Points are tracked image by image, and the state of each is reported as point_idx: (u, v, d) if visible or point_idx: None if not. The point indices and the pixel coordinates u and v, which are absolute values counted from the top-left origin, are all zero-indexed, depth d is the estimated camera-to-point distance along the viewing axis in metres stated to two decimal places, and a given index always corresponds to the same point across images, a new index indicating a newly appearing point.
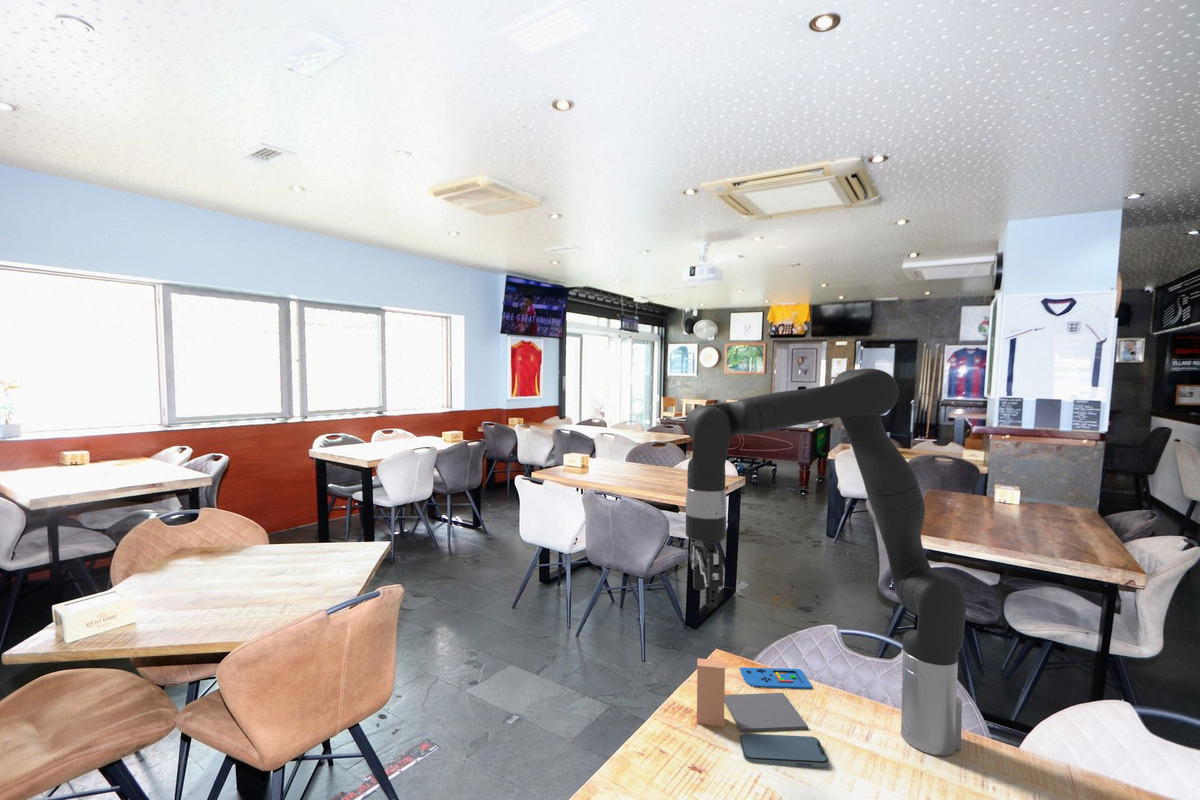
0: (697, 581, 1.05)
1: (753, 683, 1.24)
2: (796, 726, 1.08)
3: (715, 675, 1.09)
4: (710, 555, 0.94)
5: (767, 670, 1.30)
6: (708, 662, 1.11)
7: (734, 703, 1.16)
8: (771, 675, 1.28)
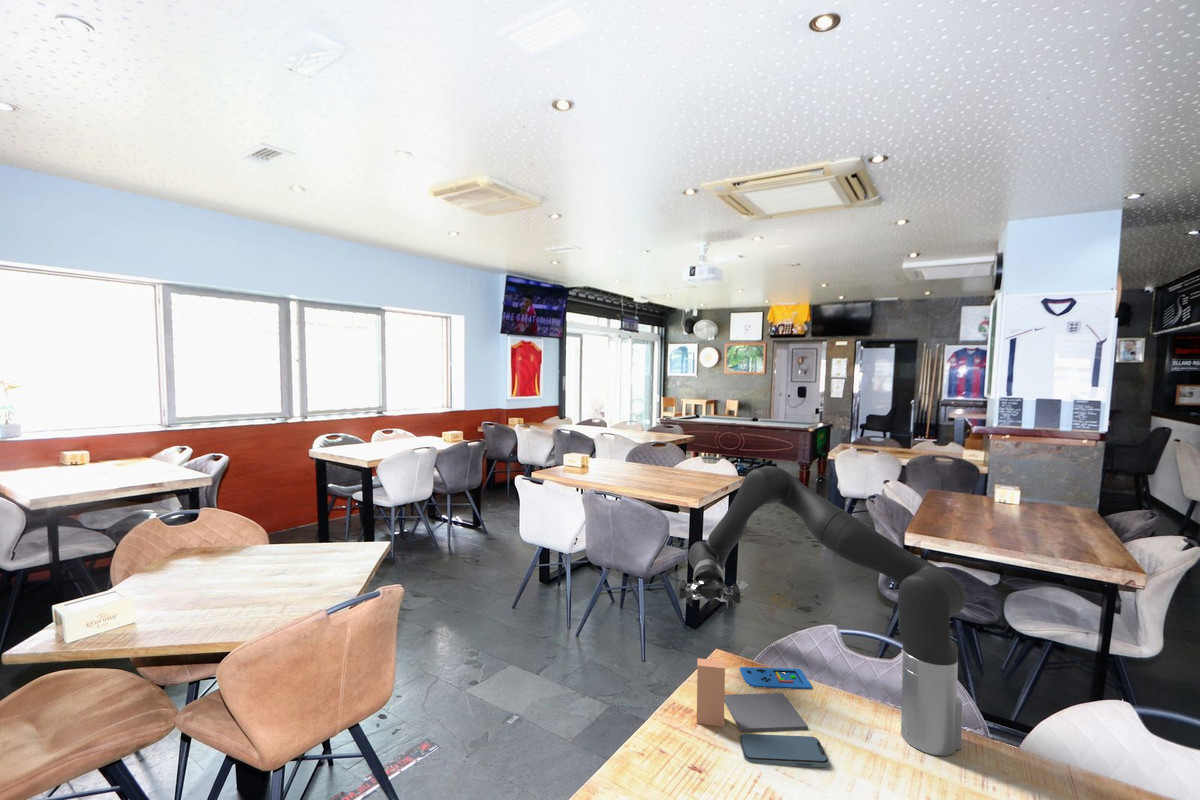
0: (727, 603, 1.22)
1: (753, 683, 1.24)
2: (796, 726, 1.08)
3: (715, 675, 1.09)
4: None
5: (767, 669, 1.30)
6: (708, 662, 1.11)
7: (734, 703, 1.16)
8: (771, 675, 1.28)
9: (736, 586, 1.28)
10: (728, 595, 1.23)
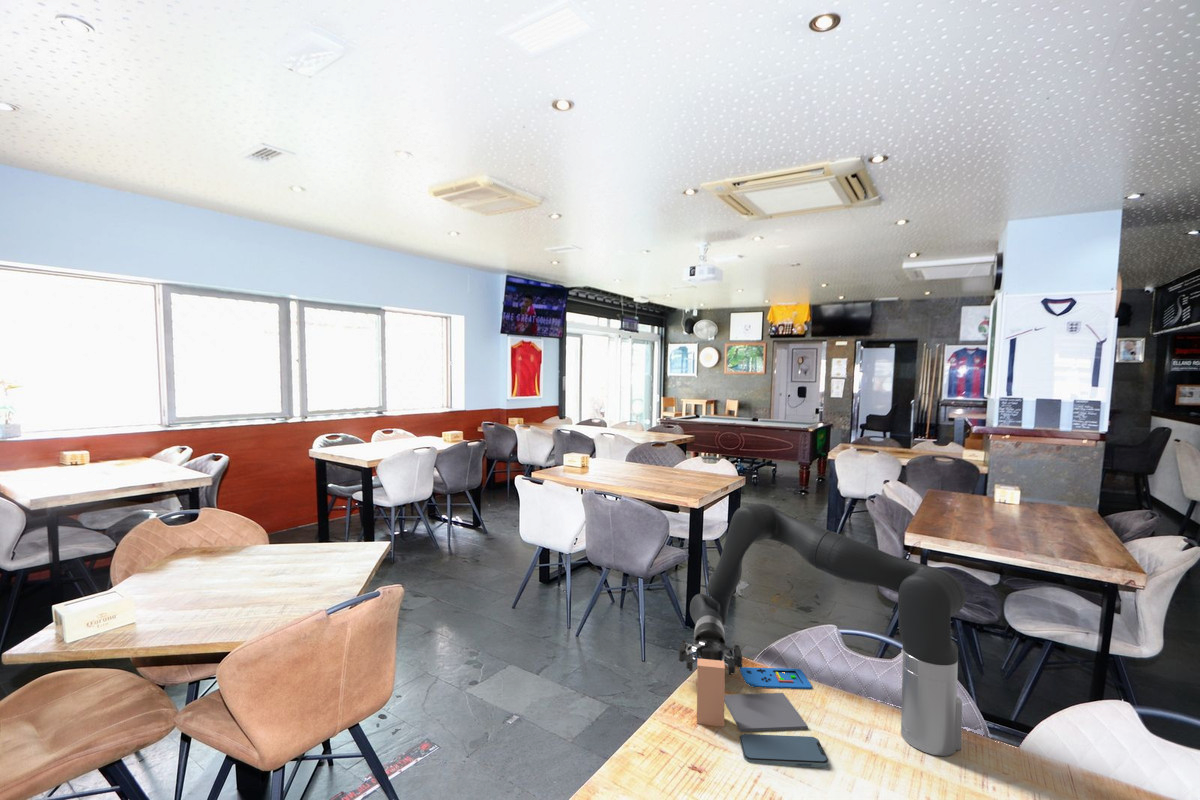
0: (728, 669, 1.19)
1: (753, 683, 1.24)
2: (796, 726, 1.08)
3: (715, 675, 1.09)
4: None
5: (767, 670, 1.30)
6: (708, 662, 1.11)
7: (734, 703, 1.16)
8: (771, 675, 1.28)
9: (738, 648, 1.25)
10: (729, 660, 1.20)
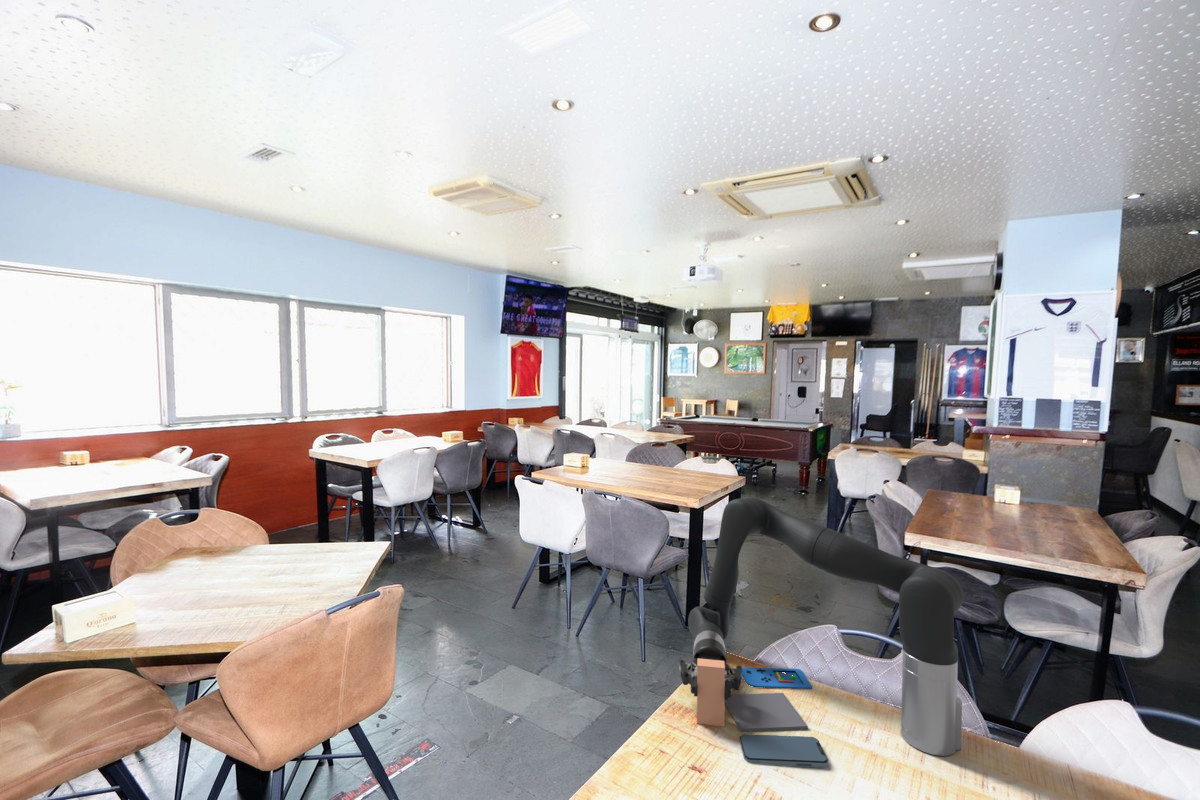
0: None
1: (753, 683, 1.24)
2: (796, 726, 1.08)
3: (715, 675, 1.09)
4: (679, 670, 1.19)
5: (767, 669, 1.30)
6: (708, 662, 1.11)
7: (734, 703, 1.16)
8: (771, 675, 1.28)
9: (739, 669, 1.15)
10: (725, 682, 1.10)
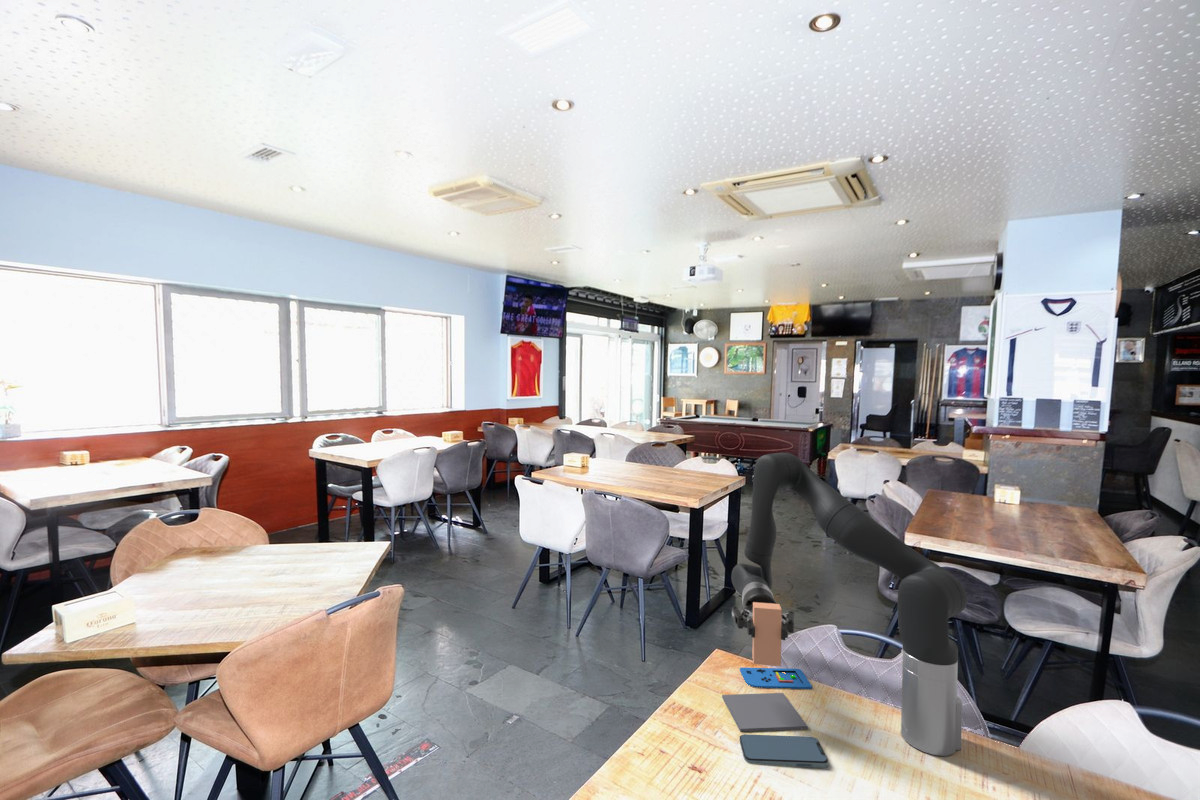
0: None
1: (753, 683, 1.24)
2: (796, 726, 1.08)
3: (771, 617, 1.12)
4: (732, 616, 1.22)
5: (766, 670, 1.30)
6: (764, 605, 1.14)
7: (734, 703, 1.16)
8: (771, 675, 1.27)
9: (791, 614, 1.18)
10: (781, 624, 1.13)
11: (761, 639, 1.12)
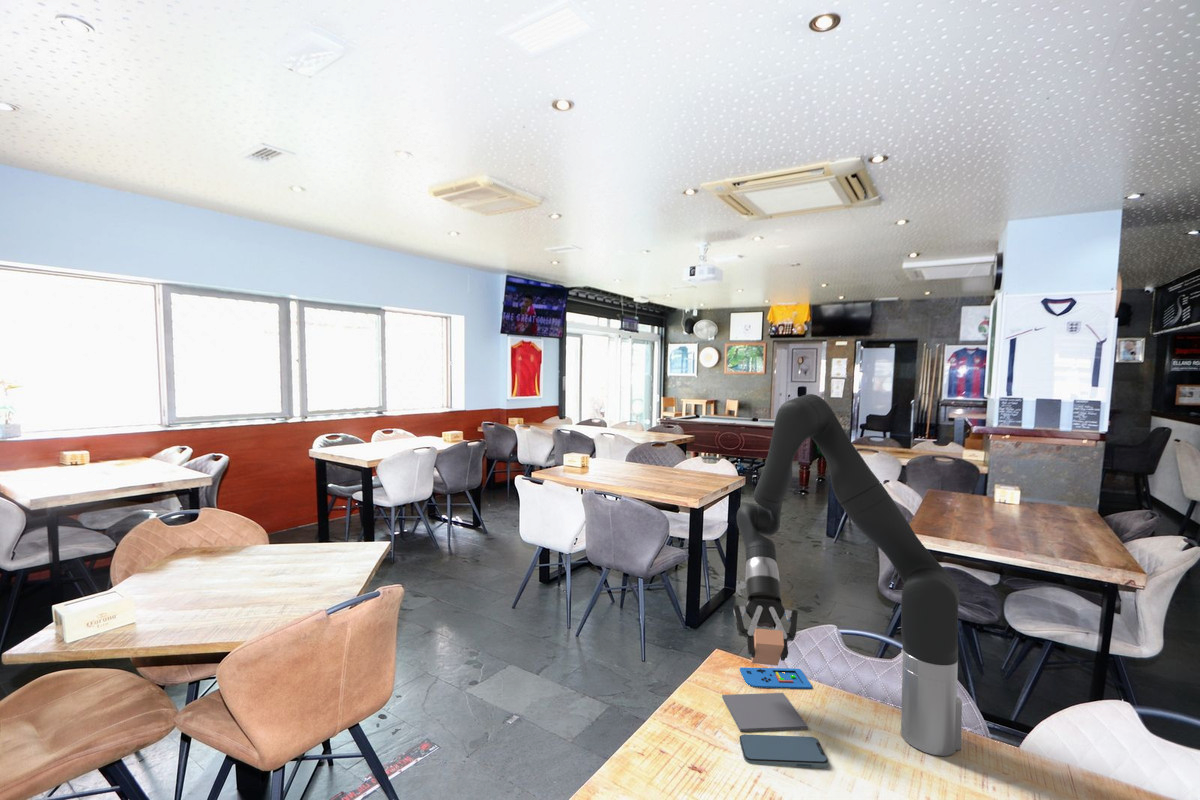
0: None
1: (753, 683, 1.24)
2: (796, 726, 1.08)
3: (773, 647, 1.10)
4: None
5: (766, 670, 1.30)
6: (767, 635, 1.11)
7: (734, 703, 1.16)
8: (771, 675, 1.27)
9: (794, 617, 1.16)
10: None
11: (761, 655, 1.14)
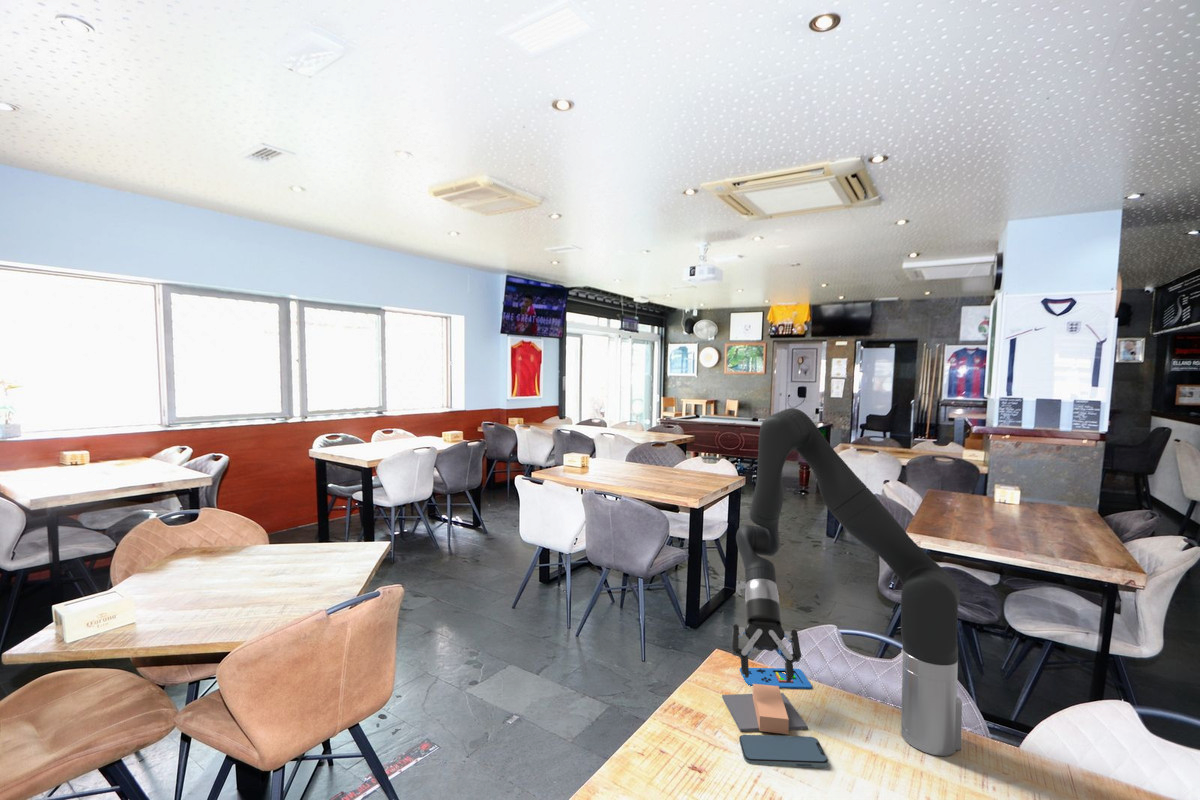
0: (786, 672, 1.13)
1: (753, 683, 1.24)
2: (796, 726, 1.08)
3: None
4: None
5: (766, 670, 1.30)
6: (771, 723, 1.06)
7: (734, 703, 1.16)
8: (771, 675, 1.27)
9: (795, 637, 1.16)
10: (788, 665, 1.13)
11: None
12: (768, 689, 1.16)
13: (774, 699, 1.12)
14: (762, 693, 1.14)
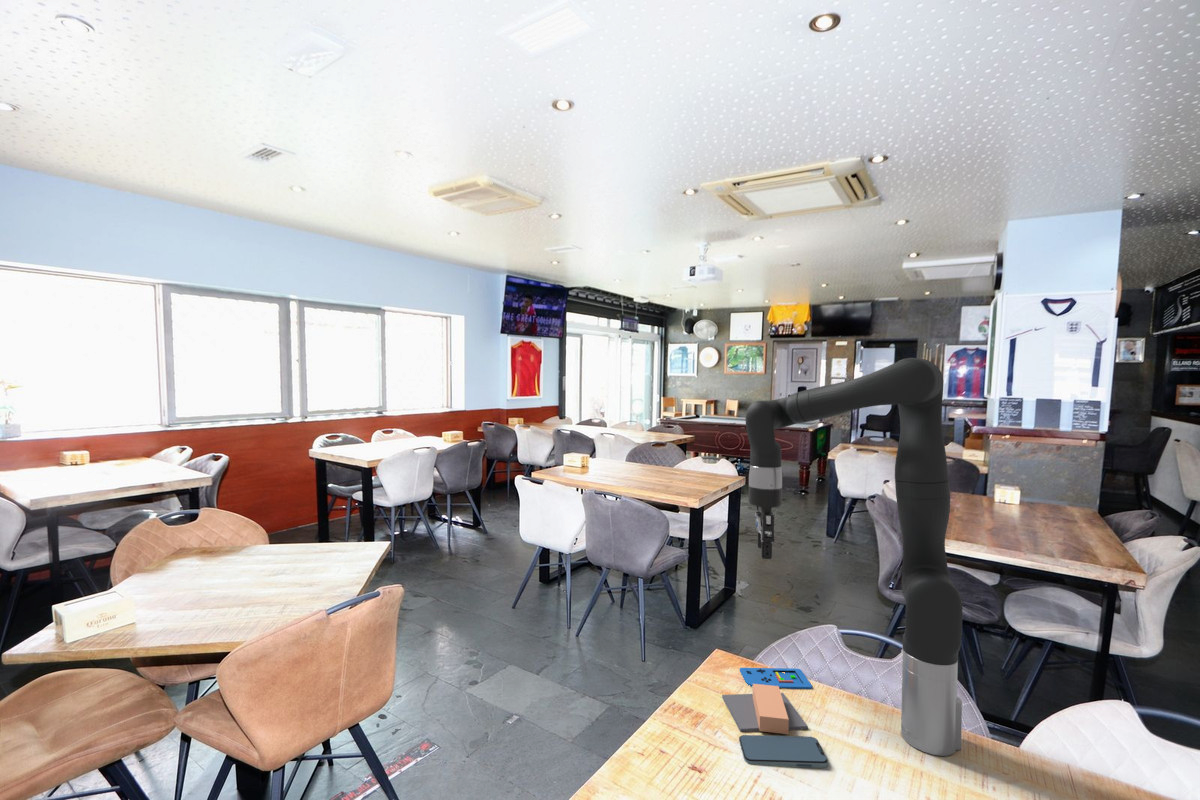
0: (760, 541, 1.30)
1: None
2: (796, 726, 1.08)
3: None
4: (763, 516, 1.20)
5: (766, 670, 1.30)
6: (771, 723, 1.06)
7: (734, 703, 1.16)
8: (771, 675, 1.27)
9: None
10: None
11: None
12: (768, 689, 1.16)
13: (774, 699, 1.12)
14: (762, 693, 1.14)
